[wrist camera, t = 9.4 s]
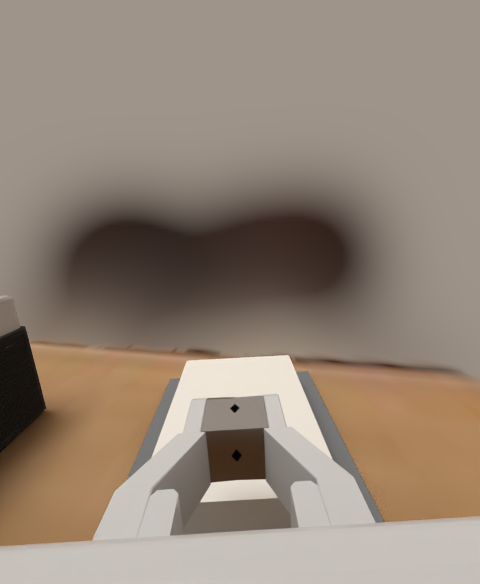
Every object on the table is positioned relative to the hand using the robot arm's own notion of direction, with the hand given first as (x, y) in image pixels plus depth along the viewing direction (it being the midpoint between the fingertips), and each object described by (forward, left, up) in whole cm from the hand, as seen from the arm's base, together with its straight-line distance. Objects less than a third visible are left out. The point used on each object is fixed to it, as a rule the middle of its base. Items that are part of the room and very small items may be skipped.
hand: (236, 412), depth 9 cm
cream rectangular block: (0, 0, -5) cm, 5 cm away
